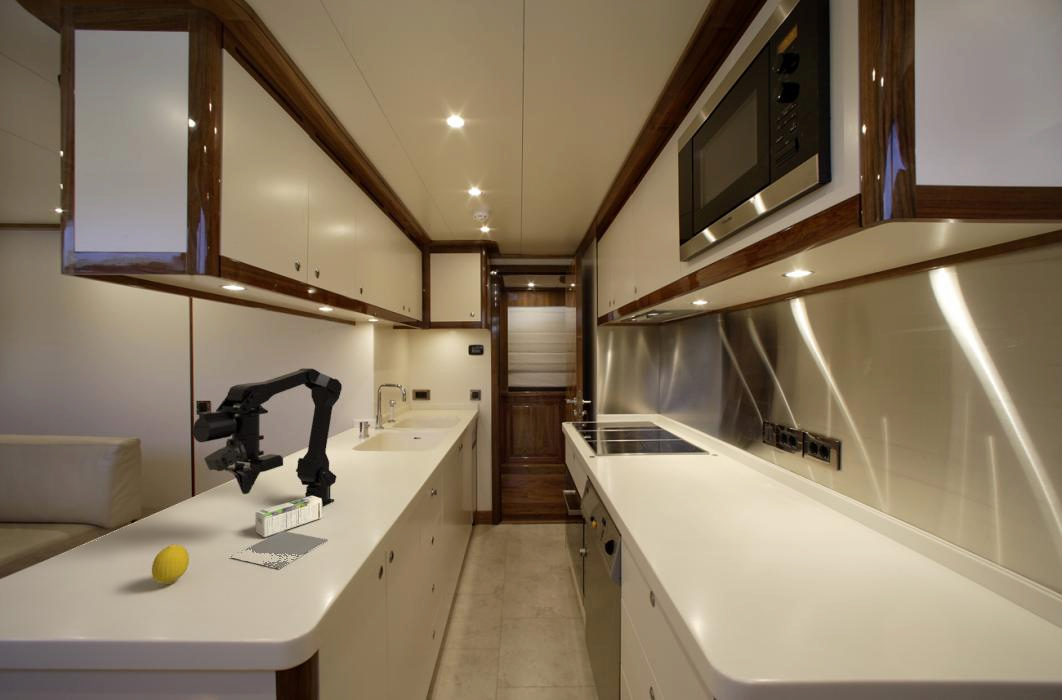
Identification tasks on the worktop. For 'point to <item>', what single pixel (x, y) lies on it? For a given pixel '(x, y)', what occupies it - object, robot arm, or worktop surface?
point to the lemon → (170, 564)
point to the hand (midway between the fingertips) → (245, 493)
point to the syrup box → (288, 515)
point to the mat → (286, 546)
